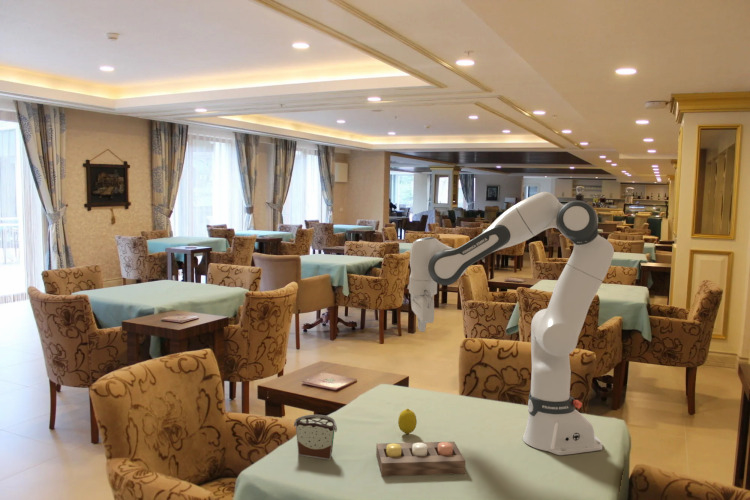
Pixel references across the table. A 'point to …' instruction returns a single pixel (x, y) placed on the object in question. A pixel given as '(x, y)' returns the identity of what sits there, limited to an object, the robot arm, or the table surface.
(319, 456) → the food container
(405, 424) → the lemon
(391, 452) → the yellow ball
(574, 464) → the table surface
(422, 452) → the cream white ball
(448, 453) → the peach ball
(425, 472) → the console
